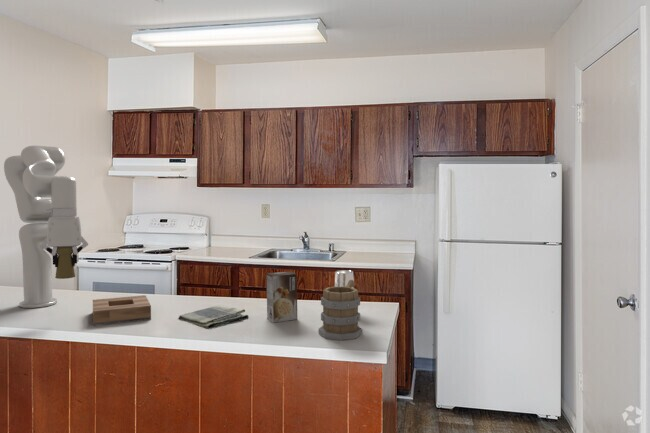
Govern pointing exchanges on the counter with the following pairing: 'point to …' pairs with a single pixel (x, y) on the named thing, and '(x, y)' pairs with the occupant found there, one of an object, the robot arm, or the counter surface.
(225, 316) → the dish towel
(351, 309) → the tankard
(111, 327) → the counter surface
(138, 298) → the docking block
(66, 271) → the cork
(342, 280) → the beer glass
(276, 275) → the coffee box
